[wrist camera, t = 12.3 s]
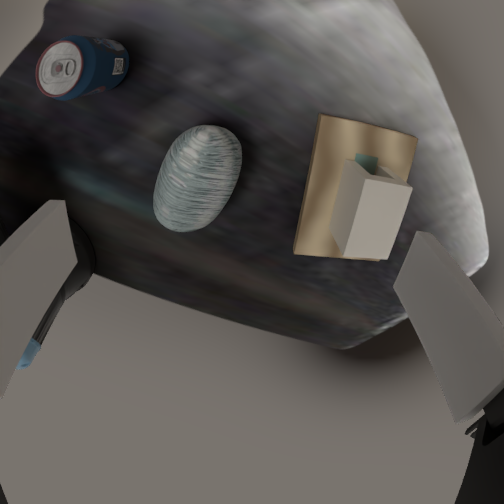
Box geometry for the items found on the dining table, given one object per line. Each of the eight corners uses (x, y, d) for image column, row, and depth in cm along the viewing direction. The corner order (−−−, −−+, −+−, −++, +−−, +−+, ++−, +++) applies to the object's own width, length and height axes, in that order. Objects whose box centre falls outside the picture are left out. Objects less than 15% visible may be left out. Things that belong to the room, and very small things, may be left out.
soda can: (82, 89, 30) (28, 103, 20) (90, 40, 27) (36, 37, 17) (127, 92, 31) (81, 104, 21) (137, 41, 28) (93, 32, 18)
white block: (328, 227, 41) (342, 256, 35) (344, 159, 36) (365, 178, 30) (368, 231, 42) (387, 259, 36) (387, 167, 36) (412, 187, 30)
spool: (212, 245, 40) (177, 253, 31) (162, 206, 42) (118, 204, 32) (270, 158, 37) (250, 139, 28) (213, 124, 38) (180, 100, 29)
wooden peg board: (292, 248, 45) (297, 270, 40) (318, 113, 34) (330, 120, 29) (375, 255, 46) (388, 276, 41) (412, 136, 35) (433, 146, 30)
